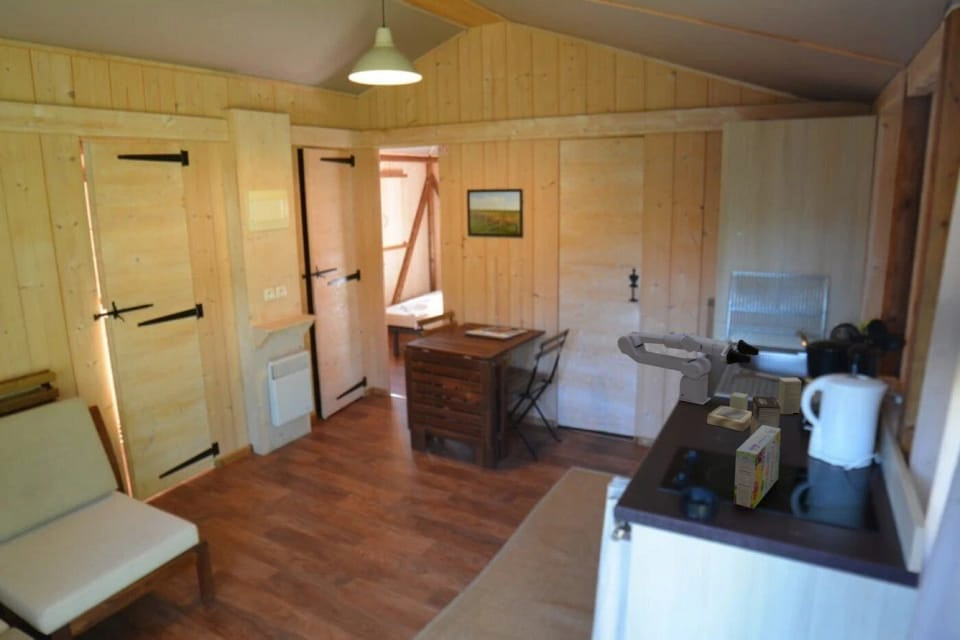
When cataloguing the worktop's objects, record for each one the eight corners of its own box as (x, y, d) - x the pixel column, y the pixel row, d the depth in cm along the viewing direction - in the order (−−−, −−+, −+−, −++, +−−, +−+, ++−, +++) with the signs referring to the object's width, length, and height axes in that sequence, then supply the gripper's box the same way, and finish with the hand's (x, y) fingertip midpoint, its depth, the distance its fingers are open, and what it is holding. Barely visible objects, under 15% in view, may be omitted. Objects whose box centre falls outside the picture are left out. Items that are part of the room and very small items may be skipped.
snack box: (757, 474, 184) (761, 423, 181) (778, 479, 181) (783, 428, 178) (731, 504, 168) (735, 449, 165) (754, 510, 165) (758, 454, 162)
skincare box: (794, 410, 232) (797, 377, 230) (799, 414, 228) (802, 381, 225) (776, 409, 233) (778, 377, 230) (780, 414, 229) (783, 380, 226)
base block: (707, 423, 222) (707, 414, 221) (720, 413, 231) (721, 404, 230) (743, 431, 214) (743, 422, 214) (755, 420, 223) (756, 412, 222)
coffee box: (748, 444, 204) (751, 395, 201) (770, 446, 203) (774, 396, 199) (754, 457, 195) (758, 405, 192) (777, 458, 194) (781, 406, 191)
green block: (729, 411, 233) (730, 395, 231) (733, 408, 236) (734, 392, 235) (742, 414, 230) (743, 398, 228) (747, 410, 233) (748, 394, 232)
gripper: (708, 344, 230) (747, 352, 221) (724, 331, 240) (762, 338, 231) (707, 362, 232) (745, 371, 223) (723, 349, 242) (761, 356, 233)
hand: (754, 356), depth 227 cm, fingers open, 7 cm apart
